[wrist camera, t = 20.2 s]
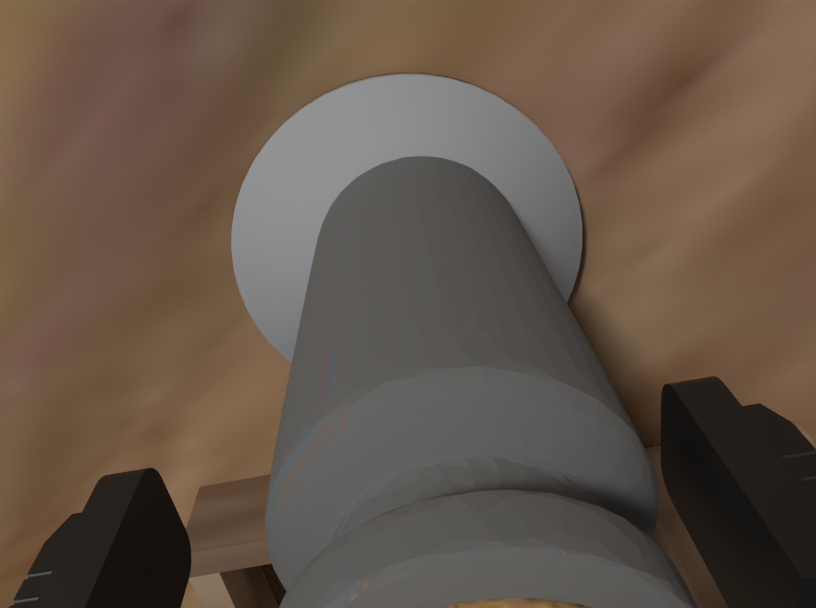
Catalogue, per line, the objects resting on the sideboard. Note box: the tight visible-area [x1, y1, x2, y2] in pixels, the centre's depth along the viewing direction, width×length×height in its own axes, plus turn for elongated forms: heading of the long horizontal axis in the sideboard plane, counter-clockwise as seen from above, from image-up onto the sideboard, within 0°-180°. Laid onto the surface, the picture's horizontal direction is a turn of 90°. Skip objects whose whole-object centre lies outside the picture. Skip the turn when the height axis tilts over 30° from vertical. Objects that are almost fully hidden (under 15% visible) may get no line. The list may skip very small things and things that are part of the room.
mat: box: [231, 73, 582, 363], centre depth 19 cm, size 10×10×1 cm
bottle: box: [265, 156, 697, 608], centre depth 12 cm, size 6×6×15 cm
